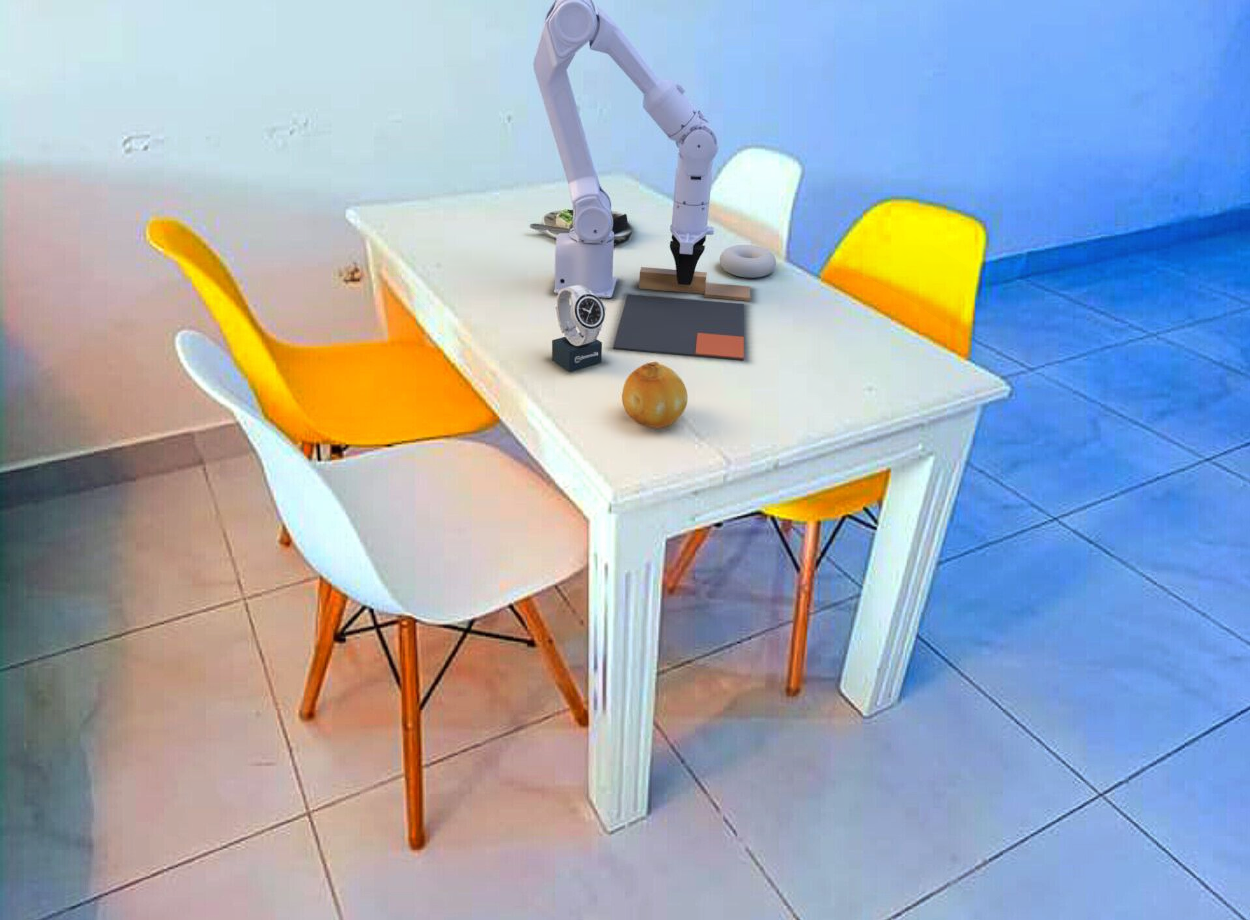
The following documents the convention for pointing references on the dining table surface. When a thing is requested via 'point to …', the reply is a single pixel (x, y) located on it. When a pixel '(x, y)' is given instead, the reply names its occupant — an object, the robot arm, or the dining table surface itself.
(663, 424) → the fruit
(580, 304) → the watch
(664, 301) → the corner mat
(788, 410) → the dining table surface
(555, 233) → the salad plate
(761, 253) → the donut
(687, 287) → the spatula
